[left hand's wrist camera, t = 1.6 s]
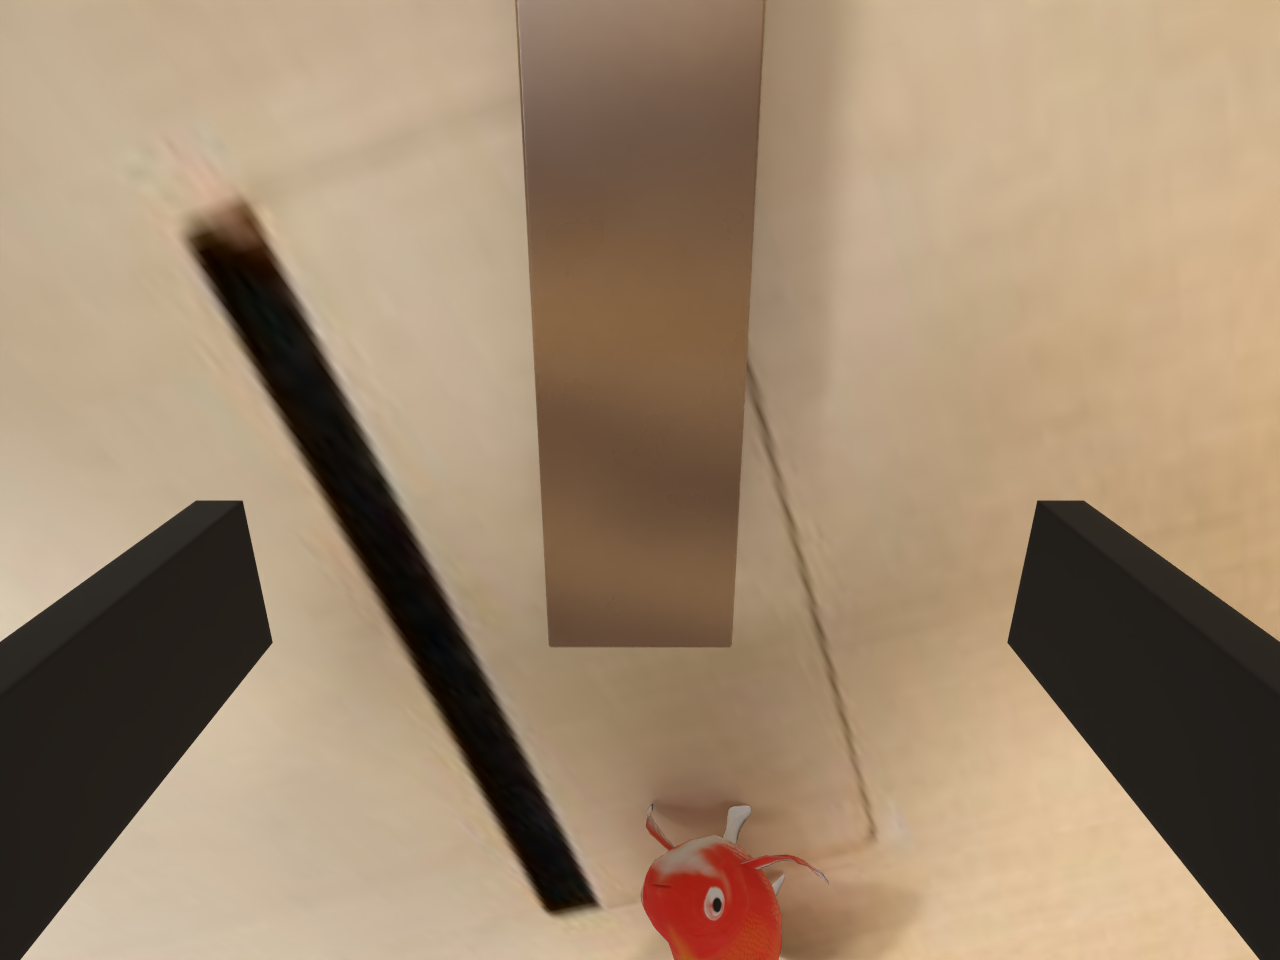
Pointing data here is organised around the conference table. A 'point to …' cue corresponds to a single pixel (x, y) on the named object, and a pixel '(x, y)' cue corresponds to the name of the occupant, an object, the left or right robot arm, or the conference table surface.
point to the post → (640, 306)
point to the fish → (715, 896)
